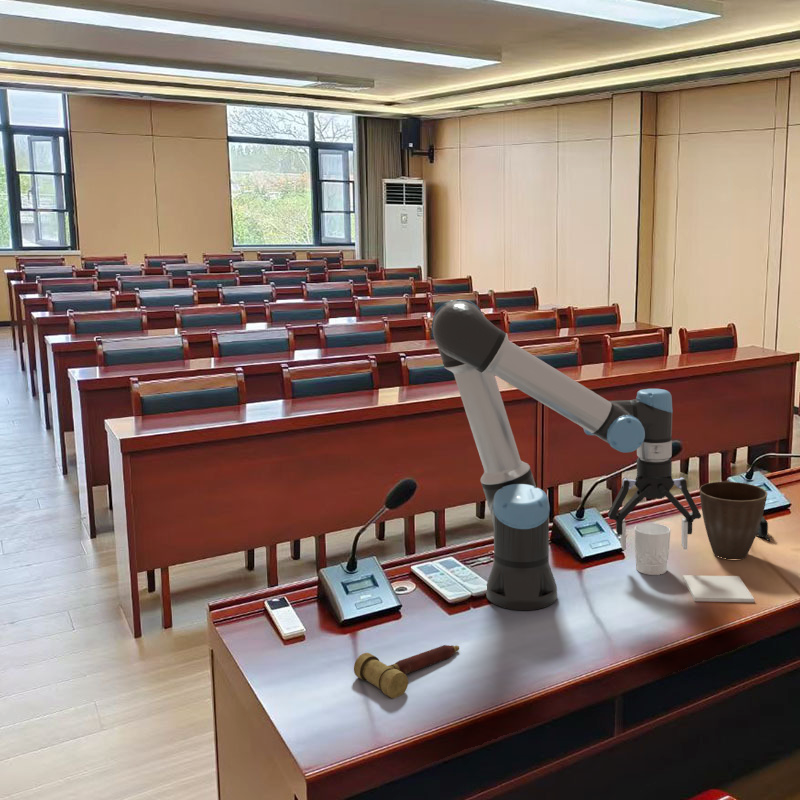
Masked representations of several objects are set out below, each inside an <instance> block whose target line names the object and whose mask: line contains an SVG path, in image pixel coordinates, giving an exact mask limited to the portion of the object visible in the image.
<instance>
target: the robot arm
mask: <svg viewBox="0 0 800 800" xmlns="http://www.w3.org/2000/svg"><path fill="white" fill-rule="evenodd" d="M431 321H432V322H431V330H432V334H433V340H434V342H435V344H436V346H437V348H438V352H439V356H440V358H441V360H442V364H443V367H444V369H445V370H447V371H449V372H451V373H452V374H453V376H454V381H455V382H456V386H457V389H458V391H459V396H460V399H461V401H462V405H463V408H464V410H465V414H466V417H467V420H468V423H469V428H470V430H471V433H472V437H473V440H474V442H475V446H476V448H477V451H478V454H479V458H480V461H481V465H482V467H483V474H482V475H481V477H480V483H481V486H482V489H483V493H484V497H485V499H486V502H487V507H488V509H489V512H490V515H491V516H490V517H491V521H492V525H493V564H492V566H491V570H490V573H489V575H488V576H489V577H488V579H487V583H486V586H487V593H486V592H485V593H486V594H485V595H486V598H487V600H488V601H489V602H490V603H492V604H493V605H495V606H497V607H500V608H504V609H507V610H514V611H515V610H516V611H533V610H534V611H535V610H539V609H545V608H547V607H549V606H551V605H553V604H554V603H555V602H556V601H557V598H558V589H557V583H556V581H555V580H556V579H555V577H554V574H553V570H552V568H551V565H550V557H549V556H550V552H549V551H550V550H549V549H550V547H549V546H550V545H549V543H550V540H549V539H550V538H549V537H550V534H549V533H550V531H549V530H550V528H549V527H550V526H549V525H550V524H549V523H550V521H549V520H550V517H549V516H550V510H551V508H550V502H549V496H548V495H547V493H546V492H545V490H543V489H541V488H540V487H537V486H536V482H535V479H534V476H533V472H532V469H531V466H530V465H529V463H527V462H525V461H523V460H521V457H520V454H519V450H518V447H517V443H516V440H515V436H514V433H513V431H512V428H511V425H510V421H509V417H508V414H507V411H506V407H505V405H504V404H505V403H504V401H503V399H502V394H501V390H500V389H499V385H498V382H497V379H496V377H498V378H499V379H501V380H502V381H504V382H505V383H507V384H509V385H511V386H513V387H514V388H516V389H517V390H518V391H521V392H522V393H524V394H526V395H528V396H529V397H531V398H532V399H534V400H535V401H538V402H539V403H541V404H543V405H545V406H546V407H548V408H550V409H551V410H552V411H555V412H556V413H557V414H559V415H560V416H563V417H565V418H566V419H568V420H570V421H571V422H573V423H574V424H577V425H578V426H580V427H581V428H583V431H584V433H585V434H586V435H587V436H595V437H598V438H599V439H601V440H602V441H604V442H606V443H607V444H609V446H610V447H611V448H612V449H614V450H615V451H618V452H620V453H633V452H634V451H636V456H637V457H638V458H637V459H636V477H635V479H628V478H627V477H623V478H622V481H621V487H620V489H619V491H618V493H617V495H616V496H615V499H614V500H613V502H612V505H611V506H610V509H609V510H608V512H607V515H608V518H609V520H611V521H612V520H613V521H615V532H616V534H617V535H618V536H620V546H621V549H622V551H626V550H627V528H626V527H627V523H626V520H625V519H626V518H627V516H628V515H629V514H630V513H631V512H632V511H633V510H634V508H635V507H636V506H637V505H638V504H639V503H640V502H642V501H643V500H644V499H645V498H646V499H647V500H652V499H658V500H662V499H663V498H665V497H666V499H668V501H670V503H671V504H672V505H673V506H674V508H676V509H677V510H678V512H679V513H680V514H681V515H682V516H683V517H684V518H683V517H682V518H681V544H680V545H681V547H682V549H683V550H687V551H688V537H689V535H692V534H693V522H694V520H697V519H701V517H702V514H701V512H700V511H699V509H698V506H697V505H696V503H695V501H694V499H693V497H692V496H691V494H690V492H689V489H688V484H687V480H686V479H685V477H683V476H679V478H674V479H673V477H672V475H673V473H672V471H673V470H672V469H673V468H672V467H673V465H672V463H673V462H672V459H671V458H672V454H673V446H672V445H673V440H672V439H673V434H672V433H673V432H672V431H673V412H674V411H673V410H674V409H673V399H672V394H671V392H670V391H669V390H666V389H661V388H644V389H640V390H638V391H637V392H636V397H635V399H630V400H629V399H628V400H607V399H606V398H604V397H603V396H601V395H599V394H597V393H596V392H595V391H593V390H591V389H590V388H588V387H586V386H584V385H583V384H581V383H579V382H577V380H574V379H573V378H571V377H569V376H568V375H566V374H565V373H563V372H561V371H560V370H558V369H557V368H555V367H553V366H551V364H548V363H546V362H545V361H543V360H542V359H540V358H538V357H537V356H535V355H534V354H531V353H530V352H529V351H527V350H525V349H523V348H522V347H520V346H519V345H517V344H515V343H513V342H512V341H511V340H509V336H508V333H507V332H505V331H504V330H502V329H500V328H499V327H497V326H496V325H494V323H492V322H491V321H490V320H489V319H488V318H487V317H486V316H485V315H484V313H483V312H482V310H481V308H480V307H479V306H478V305H477V304H475V303H474V302H472V301H470V300H467V299H460V298H458V299H454V300H450V301H448V302H445V303H443V304H442V305H441V306H440V307H439V308H438V309H436V311H435V313H434V315H433V317H432V320H431ZM674 485H675V486H676V488H677V489H680V491H681V492H682V494H683V496H684V498H685V501H686V502H687V504H688V507H689V508H690V510H691V512H689V511H688V510H687V509H686V508H685V507H684V506H683V505H682V503H680V501H679V500H678V499H677V498H676V497H675V496H674V495H673V494H672V492H671V491H670V490H672V488H673V487H674ZM633 486H635V487H636V488H637V490H636V491H635V493H634V494H633V495H632V496H631V498H630V499H629V500H628V501H627V502H626V503H625V505H624V506H623V507H622V508H621V506H622V504H623V502H624V500H625V499H626V496H627V495H628V493H629V490H631V489H632V488H633ZM620 508H621V509H620Z"/></svg>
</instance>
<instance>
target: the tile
mask: <svg viewBox="0 0 800 800" xmlns="http://www.w3.org/2000/svg"><path fill="white" fill-rule="evenodd" d="M682 580H683V582H684V585H686V588H687V589H688V591H689V593H690V595H691V597H692V599H693V601H694V602H714V603H715V602H719V603H720V602H722V603H723V602H724V603H755V598H754V596H753V594H752V593H751V592H750V590H749V589H748V587H747V586H746V584H745V583H744V582H743V580H742V579H741V577H740V576H739V575H688V574H687V575H685V574H683V575H682Z"/></svg>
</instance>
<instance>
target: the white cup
mask: <svg viewBox="0 0 800 800" xmlns="http://www.w3.org/2000/svg"><path fill="white" fill-rule="evenodd" d="M633 529H634V552H635V553H634V554H635V566H636V567H635V569H636V571H638V572H639V573H641V574H645V575H649V576H660V574H661V575H664V574H665V573H667V568H668V560H669V552H670V541H671V540H670V539H671V528H670V527H669V526H668V525H664V524H661V523H655V522H644V523H639V524H636V525H635V526H634V527H633Z"/></svg>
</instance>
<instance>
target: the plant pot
mask: <svg viewBox="0 0 800 800" xmlns="http://www.w3.org/2000/svg"><path fill="white" fill-rule="evenodd" d="M699 497H700V498H699V499H700V506H701V513H702V514H701V515H702V518H703V522H704V526H705V531H706V535H707V538H708V541H709V546H710V548H711V550H712V553H713V555H714V554H715V555H714V556H715V557H717V556H719V557H722V558H726V559H725V560H727V559H741V560H744V559H746V557H747V556H748V554H749V552H750V550H751V548H752V546H753V544H754V541H755V539H756V534H757V531H758V529H759V526H760V523H761V519H762V516H763V515H764V513H765V512H764V511H765V507H766V502H767V498H768V492H767V490H765V489H764V488H761V486H756V485H754V484H749V483H746V482H736V481H715V482H707V483H705V484H703V485H700V487H699ZM763 517H764V516H763ZM719 557H718V558H719ZM722 558H721V559H722ZM743 558H744V559H743Z"/></svg>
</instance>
